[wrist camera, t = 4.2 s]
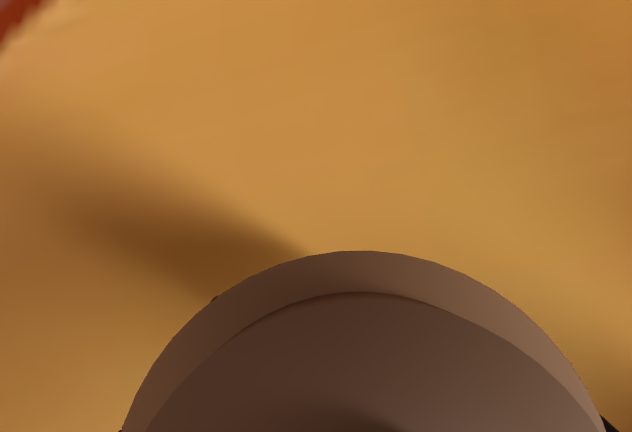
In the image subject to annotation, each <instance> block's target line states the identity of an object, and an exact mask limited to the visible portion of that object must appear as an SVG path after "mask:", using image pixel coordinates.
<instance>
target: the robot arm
mask: <svg viewBox="0 0 632 432" xmlns="http://www.w3.org/2000/svg"><path fill="white" fill-rule="evenodd" d="M219 296H220V295H219ZM217 297H218V296H216V297H214V298H213V299H212V301H213V300H215V299H216V298H217ZM212 301H211V302H212ZM211 302H210V303H211ZM599 415H600V414H599ZM600 417H601V419H602V421H603V424H604V427H605V430H606V432H619V431H618V430H617V429H616V428H615V427H613V426H612V425H611V424H610V423H609V422H608V421H607V420H606V419H605V418H603V417H602V416H601V415H600ZM122 428H123V426H122ZM121 431H122V430H119V431H118V432H121Z"/></svg>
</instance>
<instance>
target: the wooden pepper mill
mask: <svg viewBox="0 0 632 432" xmlns="http://www.w3.org/2000/svg"><path fill="white" fill-rule="evenodd" d="M121 432H606V430H605V427H604V424H603V421H602V419H601V417H600V415H599V413H598V411H597V409H596V407H595V405H594V403H593V401H592V399H591V397H590V394H589V392H588V390H587V388H586V387H585V385H584V384H583V382H582V381H581V379H580V377H579V376H578V374H577V373H576V371H575V370H574V368H573V367H572V365H571V364H570V362H569V361H568V359H567V358H566V357H565V355H564V354H563V353H562V352H561V351H560V349H559V348H558V347H557V346H556V345H555V344H554V342H553V341H552V340H551V339H550V338H549V336H548V335H547V334H546V333H545V332H544V331H543V330H542V329H541V328H540V327H539V326H538V325H537V324H536V323H535V322H533V321H532V320H531V319H530V318H529V317H528V316H527V315H526V314H525V313H524V312H523V311H522V310H520V309H519V308H518V307H516V306H515V305H514V304H512V303H511V302H510V301H508V300H507V299H505V298H504V297H503V296H501V295H500V294H498V293H497V292H496V291H494V290H493V289H491V288H489V287H487V286H485V285H484V284H482V283H480V282H478V281H476V280H474V279H473V278H471V277H469V276H467V275H465V274H463V273H461V272H458V271H455V270H453V269H450V268H448V267H445V266H443V265H440V264H437V263H435V262H431V261H427V260H423V259H419V258H415V257H411V256H407V255H403V254H395V253H386V252H377V251H339V252H332V253H326V254H319V255H312V256H307V257H303V258H300V259H296V260H293V261H290V262H286V263H283V264H279V265H276V266H274V267H272V268H269V269H267V270H265V271H263V272H260V273H258V274H256V275H254V276H251V277H249V278H247V279H246V280H244V281H242V282H241V283H239V284H237V285H236V286H234V287H232V288H231V289H229V290H227V291H226V292H224V293H222V294H221V295H220V296H218V297H217V298H216V299H215V300H213V301H212V302H211V303H209V304H208V305H207V306H206V307H204V308H203V309H202V310H201V311H199V312H198V313H197V314H196V315H195V316H194V317H193V318H192V319H191V320H190V321H189V322H188V323H187V324H186V325H185V326H184V327H183V328H182V329H181V330H180V331H179V332H178V333H177V334H176V335H175V336H174V337H173V339H172V340H171V341H170V343H169V344H168V345H167V347H166V348H165V349H164V351H163V352H162V353H161V355H160V356H159V357H158V359H157V360H156V361H155V363H154V364H153V365H152V367H151V369H150V371H149V372H148V374H147V376H146V378H145V379H144V381H143V383H142V385H141V386H140V388H139V390H138V392H137V393H136V396H135V398H134V400H133V403H132V405H131V408H130V410H129V412H128V415H127V417H126V420H125V422H124V424H123V428H122V431H121Z"/></svg>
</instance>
